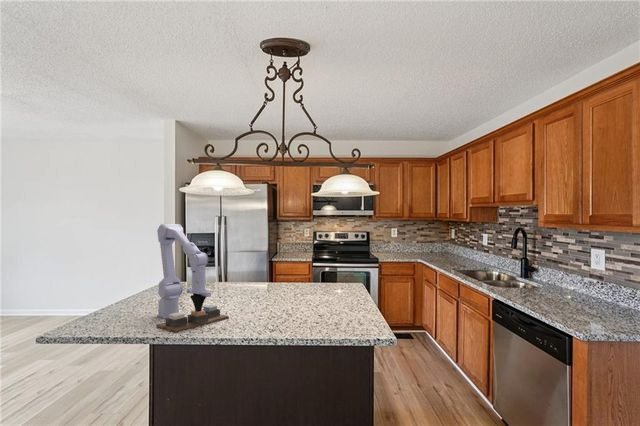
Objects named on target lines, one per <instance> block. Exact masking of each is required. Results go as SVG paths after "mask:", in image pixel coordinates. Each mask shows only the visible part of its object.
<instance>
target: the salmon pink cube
mask: <svg viewBox="0 0 640 426" xmlns="http://www.w3.org/2000/svg"><path fill="white" fill-rule="evenodd" d="M190 314H191V315H193V316H197V317H198V316H202V315H206V311H205V310H203V309H201V311H198V312H197V311H195V309H194V310H191V311H190Z"/></svg>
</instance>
